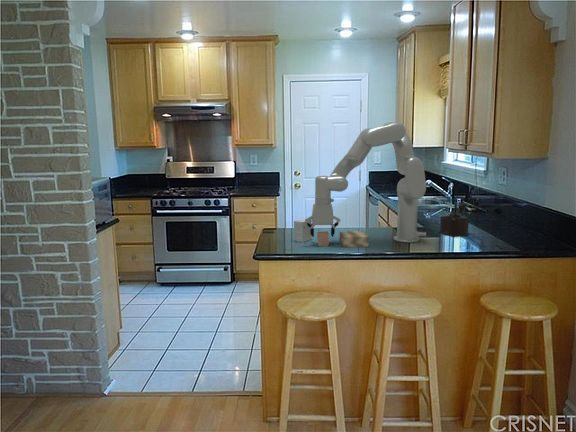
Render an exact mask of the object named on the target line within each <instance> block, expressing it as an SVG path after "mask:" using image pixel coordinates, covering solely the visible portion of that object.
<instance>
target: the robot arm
mask: <svg viewBox="0 0 576 432" xmlns="http://www.w3.org/2000/svg"><path fill="white" fill-rule="evenodd" d="M389 144H391V145H392V146H393V150H394V154H395V155H394V156H395V164H396V170H397V172H398V173H399V174H400V175H403V176H404V177H403V178H401V179H400V180H399V181H398V182H397V186H396V194H397V223H396V225H397V227H396V228H397V229H396V235H395V236H393V240H394V241H396V242H401V243H406V244H407V243H409V244H410V243H417V242H419V241H420V240H421V239H420V237H426V236H427V232H426V231H425V232H422V231H418V230H417V229H418V227H417V226H418V208H419V207H418V206H419V205H418V204H419V203H418V202H419V201H418V200H419V199H421V198H423V197H424V196H425V194H426V191H427V184H426V183H427V182H426V173H425V167H424V164H423V162H422V160H421V159H420V158H418V157H416V156H415V154H414V149H413V144H412V140H411V138H410V136H409V135H408V133H407V131H406V127H405V125H404V124H403V123H401V122H386V123H384V124H383V125H382V126H379V127H373V128H372V127H371V128H369V127H368V128H365V129H363V130H362V131H361V132H360V133H359V134H358V136H357V138H356V140H355V141H354V142H353V143H352V146H350V148H349V150H348V151H347V153H346V154H345V155H344V156H343V158H342V159H340V161H339V162H338V163H337V165H335V167H334V169H333V170H332V172H331V174H330V175H329V176H328V175H317V176H316V177H315V179H314V180H315V181H314V182H315V183H314V184H315V185H314V187H315V188H314V190H315V191H314V192H315V194H314V203H313V205H312V211H311V212H312V213H311V216H309V217H307V218H305V222H306V224H307V225H308V226H309V227H310V234H311V235H312V238H314V235H315V233H314V232H315V226H331V227H330V236H331V237H334V235H335V233H336V231H335V230H336V228H337V226H339V225H340V222H341V218H339V217H336V216H335V215H334V209H333V208H334V207H333V204H332V203H333V202H334V201H335V200H334V198H331V197H332V196H331V195H332V192H339V193H340V192H344V191H346V190H347V189H348V188H349V181H348V179H347V177H348V175H349V174H350V173H351V172H352V170H353V171H354V169H355V168H357V167H359V166H360V165H362V164H363V162H364V161H365V159H366V158H367V157H368V155H369V153H370V152H371V150H372V149H373V148H374V147H376V148H377V147H381V146H384V145H389ZM309 220H312V224H309V222H308V221H309ZM334 220H336V221H335V223H334Z"/></svg>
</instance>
